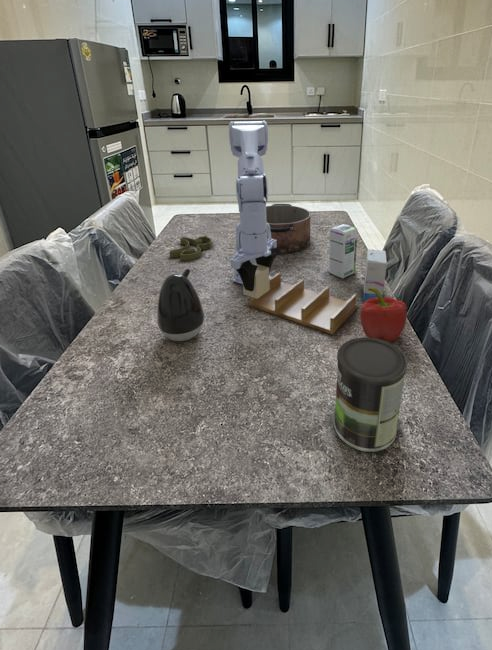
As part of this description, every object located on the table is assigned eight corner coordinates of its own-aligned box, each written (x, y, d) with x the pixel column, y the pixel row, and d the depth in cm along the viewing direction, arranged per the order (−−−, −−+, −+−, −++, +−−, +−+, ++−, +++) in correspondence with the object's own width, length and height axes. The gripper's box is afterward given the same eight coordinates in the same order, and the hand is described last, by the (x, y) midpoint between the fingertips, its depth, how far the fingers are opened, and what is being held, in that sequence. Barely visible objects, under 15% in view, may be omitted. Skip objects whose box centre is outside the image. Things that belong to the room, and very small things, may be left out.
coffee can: (341, 455, 58) (346, 383, 53) (328, 404, 68) (331, 338, 62) (407, 450, 59) (419, 378, 53) (384, 400, 68) (392, 334, 63)
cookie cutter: (183, 240, 143) (183, 235, 142) (215, 240, 142) (214, 235, 141) (166, 260, 126) (165, 254, 126) (202, 260, 125) (201, 255, 125)
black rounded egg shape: (214, 325, 91) (208, 267, 85) (191, 351, 82) (182, 289, 76) (177, 318, 94) (168, 262, 88) (150, 342, 85) (139, 282, 79)
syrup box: (342, 279, 112) (345, 232, 106) (327, 272, 116) (329, 227, 110) (355, 273, 115) (358, 227, 110) (340, 267, 119) (342, 222, 114)
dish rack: (249, 305, 99) (248, 292, 98) (279, 284, 110) (278, 271, 108) (332, 335, 87) (333, 320, 85) (357, 307, 97) (358, 293, 96)
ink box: (383, 304, 99) (387, 262, 94) (363, 302, 100) (366, 261, 95) (381, 288, 106) (385, 249, 102) (363, 287, 107) (366, 248, 102)
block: (243, 294, 89) (242, 271, 87) (256, 285, 93) (255, 263, 91) (257, 299, 87) (256, 275, 85) (269, 290, 91) (269, 267, 89)
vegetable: (347, 327, 89) (350, 289, 85) (384, 317, 93) (388, 280, 89) (376, 354, 80) (380, 313, 76) (415, 341, 84) (421, 302, 80)
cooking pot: (254, 228, 154) (253, 202, 150) (310, 228, 152) (310, 202, 148) (242, 258, 127) (240, 227, 122) (310, 259, 125) (310, 228, 121)
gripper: (247, 244, 76) (250, 303, 82) (287, 224, 87) (287, 277, 93) (221, 237, 80) (225, 294, 86) (262, 219, 91) (264, 270, 97)
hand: (256, 285), depth 90 cm, fingers closed on block, 5 cm apart
